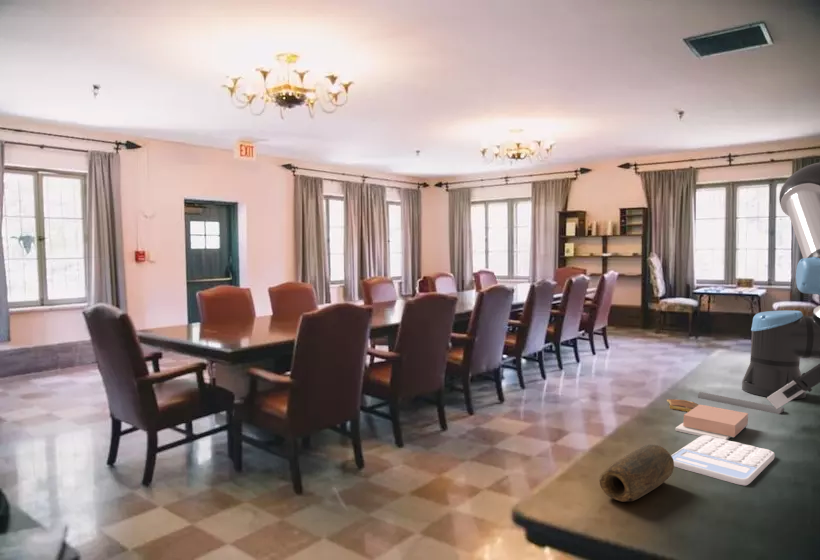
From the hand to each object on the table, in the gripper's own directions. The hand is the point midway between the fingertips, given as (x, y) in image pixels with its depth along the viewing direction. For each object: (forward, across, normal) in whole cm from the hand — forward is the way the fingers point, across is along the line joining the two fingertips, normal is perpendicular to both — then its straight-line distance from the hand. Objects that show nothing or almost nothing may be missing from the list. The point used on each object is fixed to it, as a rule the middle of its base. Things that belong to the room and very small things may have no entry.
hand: (772, 402), depth 115 cm
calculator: (+9, -20, -3) cm, 22 cm away
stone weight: (+13, -45, +2) cm, 47 cm away
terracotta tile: (+8, 0, 0) cm, 8 cm away
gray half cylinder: (+15, +27, +2) cm, 31 cm away
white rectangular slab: (+14, 0, +2) cm, 14 cm away
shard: (+20, +13, +7) cm, 25 cm away
